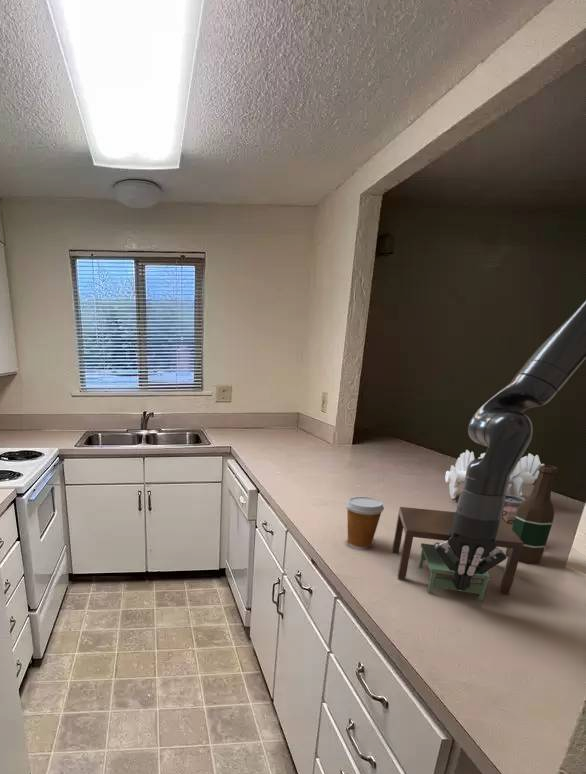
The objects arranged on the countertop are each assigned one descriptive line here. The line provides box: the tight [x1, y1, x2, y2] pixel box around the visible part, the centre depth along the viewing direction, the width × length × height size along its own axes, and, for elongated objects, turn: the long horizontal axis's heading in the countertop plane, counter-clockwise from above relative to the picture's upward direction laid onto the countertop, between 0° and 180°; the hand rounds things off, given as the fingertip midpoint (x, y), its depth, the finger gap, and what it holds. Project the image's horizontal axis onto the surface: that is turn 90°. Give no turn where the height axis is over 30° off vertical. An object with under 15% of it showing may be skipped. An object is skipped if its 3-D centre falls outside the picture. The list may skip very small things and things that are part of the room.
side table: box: [391, 506, 524, 596], centre depth 103 cm, size 22×16×12 cm
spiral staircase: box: [444, 449, 545, 500], centre depth 148 cm, size 18×18×25 cm
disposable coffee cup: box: [345, 496, 385, 548], centre depth 119 cm, size 10×10×12 cm
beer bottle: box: [505, 464, 558, 565], centre depth 107 cm, size 8×8×24 cm
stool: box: [418, 543, 491, 602], centre depth 99 cm, size 11×14×6 cm
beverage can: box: [501, 494, 526, 529], centre depth 120 cm, size 9×8×12 cm
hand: (459, 588), depth 92 cm, fingers closed
